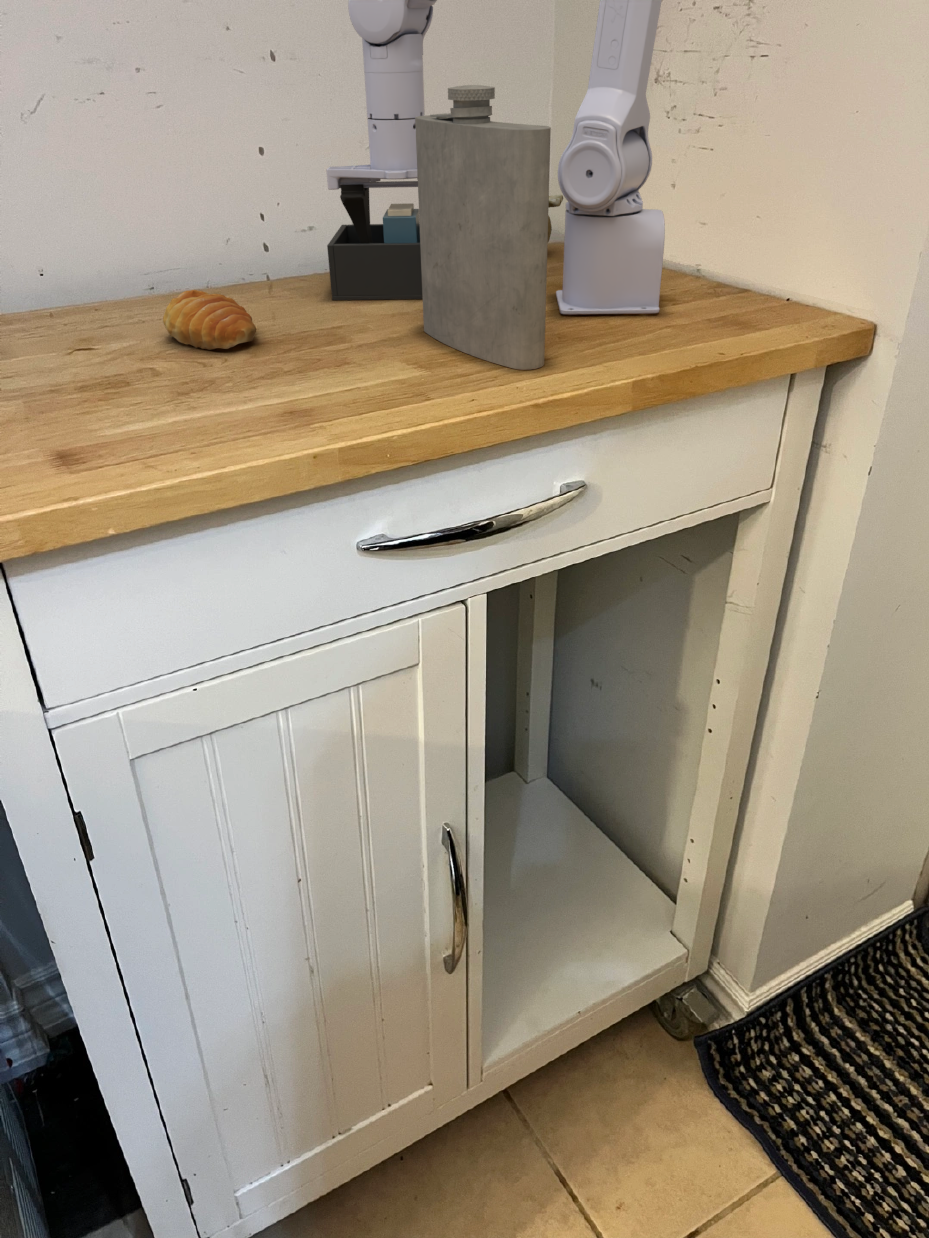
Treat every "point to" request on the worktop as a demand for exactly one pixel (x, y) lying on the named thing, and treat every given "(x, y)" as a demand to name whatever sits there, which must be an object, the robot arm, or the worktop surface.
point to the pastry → (208, 320)
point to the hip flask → (484, 230)
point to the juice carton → (401, 224)
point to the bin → (373, 267)
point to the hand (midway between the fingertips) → (403, 261)
